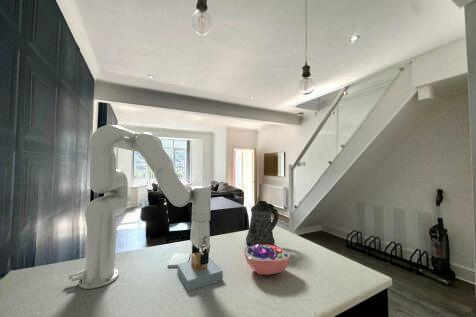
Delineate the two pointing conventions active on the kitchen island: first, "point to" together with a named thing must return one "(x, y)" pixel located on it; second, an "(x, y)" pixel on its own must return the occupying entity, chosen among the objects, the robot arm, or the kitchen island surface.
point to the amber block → (197, 262)
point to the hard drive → (178, 259)
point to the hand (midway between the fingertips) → (199, 258)
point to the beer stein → (262, 224)
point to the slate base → (199, 275)
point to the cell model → (266, 259)
